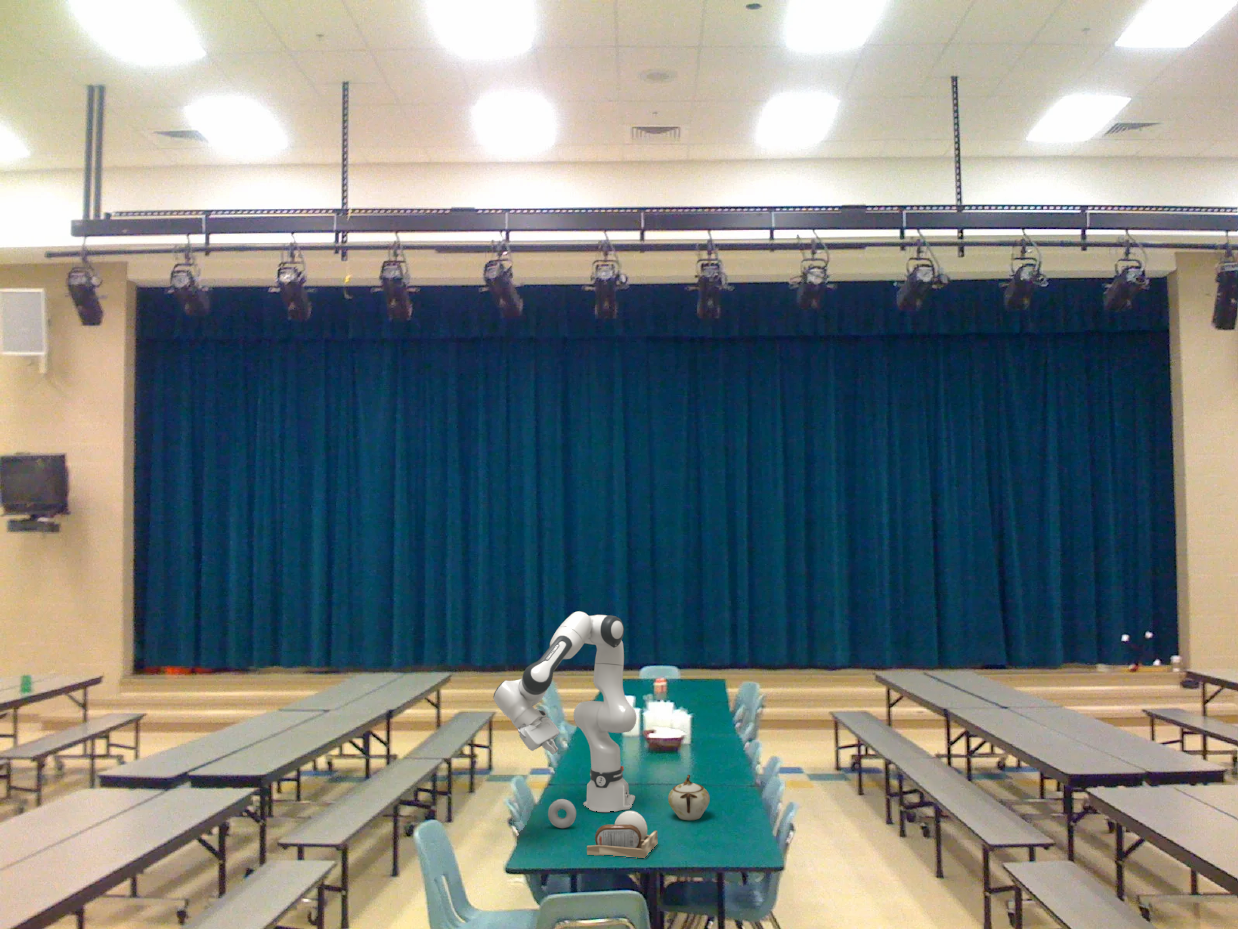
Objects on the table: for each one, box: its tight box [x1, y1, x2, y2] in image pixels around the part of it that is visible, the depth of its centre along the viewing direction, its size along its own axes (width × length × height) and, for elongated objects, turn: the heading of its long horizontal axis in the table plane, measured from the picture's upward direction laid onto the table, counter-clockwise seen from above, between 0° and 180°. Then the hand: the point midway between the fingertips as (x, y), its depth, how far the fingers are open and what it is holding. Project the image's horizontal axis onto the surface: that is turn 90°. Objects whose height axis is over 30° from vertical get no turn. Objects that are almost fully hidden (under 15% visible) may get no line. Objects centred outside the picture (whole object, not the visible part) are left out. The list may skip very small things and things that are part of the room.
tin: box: [594, 824, 641, 848], centre depth 309 cm, size 15×3×8 cm, turn 89°
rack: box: [586, 830, 659, 859], centre depth 310 cm, size 16×19×4 cm
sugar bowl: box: [667, 774, 711, 821], centre depth 343 cm, size 20×15×15 cm
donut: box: [547, 798, 577, 829], centre depth 334 cm, size 10×4×10 cm, turn 83°
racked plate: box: [614, 810, 648, 840], centre depth 314 cm, size 2×11×11 cm, turn 71°
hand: (555, 752), depth 322 cm, fingers closed
